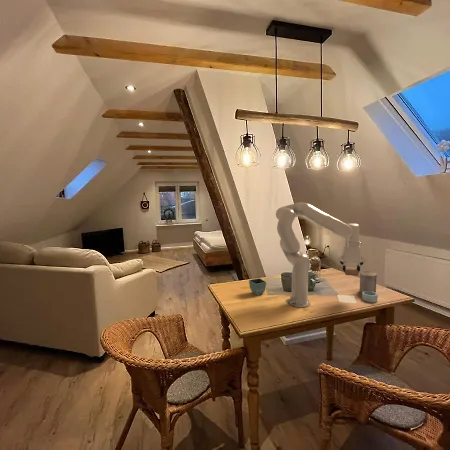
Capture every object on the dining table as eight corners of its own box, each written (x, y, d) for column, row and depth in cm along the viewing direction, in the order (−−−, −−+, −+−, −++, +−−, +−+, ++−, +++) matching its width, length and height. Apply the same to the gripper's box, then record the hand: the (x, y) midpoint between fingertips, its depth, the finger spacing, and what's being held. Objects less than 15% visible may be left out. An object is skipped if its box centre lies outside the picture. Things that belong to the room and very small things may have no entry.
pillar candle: (364, 289, 193) (365, 268, 191) (378, 293, 185) (379, 271, 183) (356, 292, 188) (357, 270, 185) (370, 297, 179) (371, 274, 177)
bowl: (371, 303, 169) (371, 296, 169) (359, 299, 176) (359, 292, 176) (379, 301, 173) (380, 294, 173) (367, 296, 180) (368, 289, 180)
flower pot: (255, 297, 183) (255, 284, 182) (248, 292, 191) (248, 280, 190) (266, 294, 187) (266, 281, 185) (259, 290, 195) (259, 278, 193)
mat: (356, 304, 169) (356, 303, 169) (339, 302, 172) (339, 301, 172) (353, 296, 181) (353, 295, 181) (337, 295, 184) (337, 294, 184)
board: (358, 275, 170) (358, 271, 169) (345, 275, 172) (345, 270, 171) (356, 272, 176) (356, 267, 176) (344, 271, 178) (344, 267, 178)
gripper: (366, 242, 172) (365, 270, 175) (336, 242, 177) (335, 269, 180) (369, 245, 165) (367, 274, 168) (337, 244, 170) (336, 273, 173)
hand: (351, 271), depth 174 cm, fingers closed on board, 7 cm apart
